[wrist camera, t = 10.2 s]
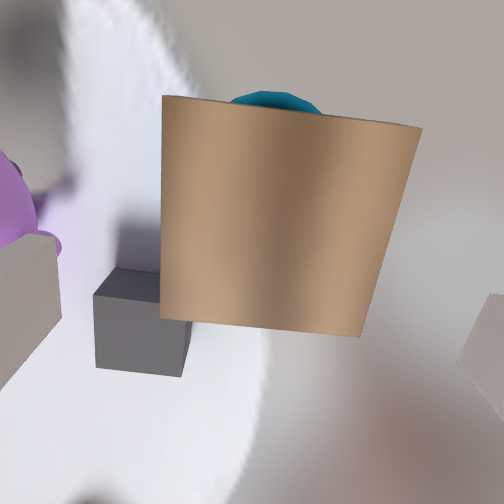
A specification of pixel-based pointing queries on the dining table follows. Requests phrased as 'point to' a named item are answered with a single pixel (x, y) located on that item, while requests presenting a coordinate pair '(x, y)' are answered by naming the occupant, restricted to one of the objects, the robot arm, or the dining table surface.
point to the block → (276, 214)
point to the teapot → (16, 206)
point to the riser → (137, 326)
